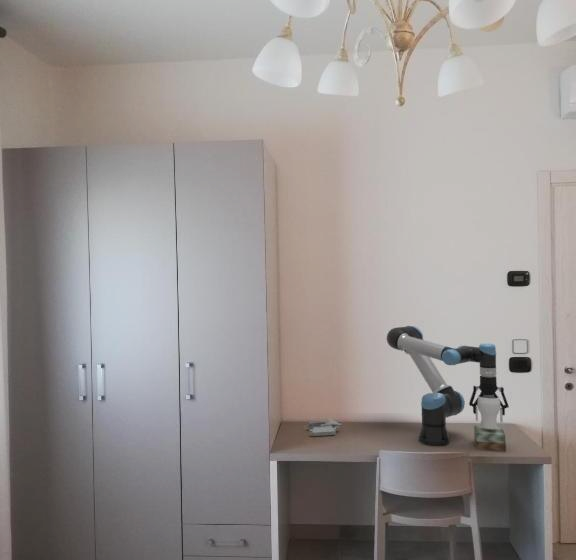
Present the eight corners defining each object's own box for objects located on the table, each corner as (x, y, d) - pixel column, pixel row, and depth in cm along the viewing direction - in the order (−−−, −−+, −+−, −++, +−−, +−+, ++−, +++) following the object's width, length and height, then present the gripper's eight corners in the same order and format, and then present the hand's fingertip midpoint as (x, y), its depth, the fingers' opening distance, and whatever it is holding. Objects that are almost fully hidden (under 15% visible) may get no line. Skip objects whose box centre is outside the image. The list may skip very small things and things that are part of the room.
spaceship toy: (303, 430, 280) (303, 419, 280) (339, 428, 283) (338, 417, 283) (308, 438, 266) (308, 426, 266) (345, 435, 269) (345, 423, 269)
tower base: (476, 449, 242) (476, 433, 242) (474, 441, 254) (474, 425, 254) (505, 451, 238) (505, 434, 238) (502, 443, 251) (502, 426, 251)
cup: (499, 424, 250) (498, 394, 250) (502, 431, 240) (501, 399, 240) (476, 423, 253) (475, 393, 253) (478, 429, 243) (477, 398, 243)
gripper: (463, 376, 246) (464, 421, 246) (514, 378, 239) (515, 424, 239) (462, 373, 253) (463, 417, 253) (512, 375, 247) (513, 420, 247)
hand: (488, 421), depth 246 cm, fingers closed on cup, 10 cm apart
